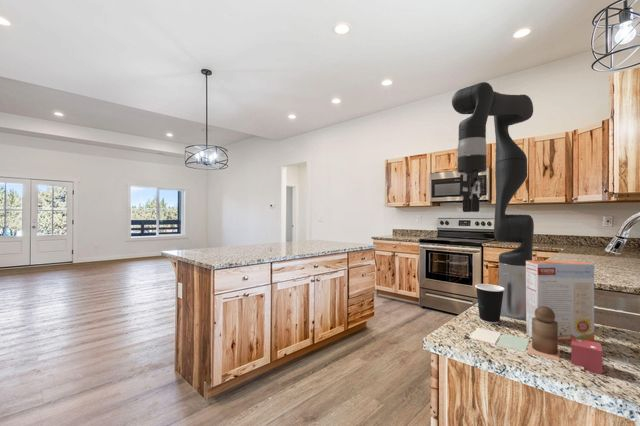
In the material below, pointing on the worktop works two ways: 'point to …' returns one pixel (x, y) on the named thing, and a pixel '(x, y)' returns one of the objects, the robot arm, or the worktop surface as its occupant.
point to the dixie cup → (489, 302)
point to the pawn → (545, 331)
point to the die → (587, 355)
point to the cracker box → (562, 296)
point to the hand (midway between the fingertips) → (471, 211)
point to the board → (510, 342)
